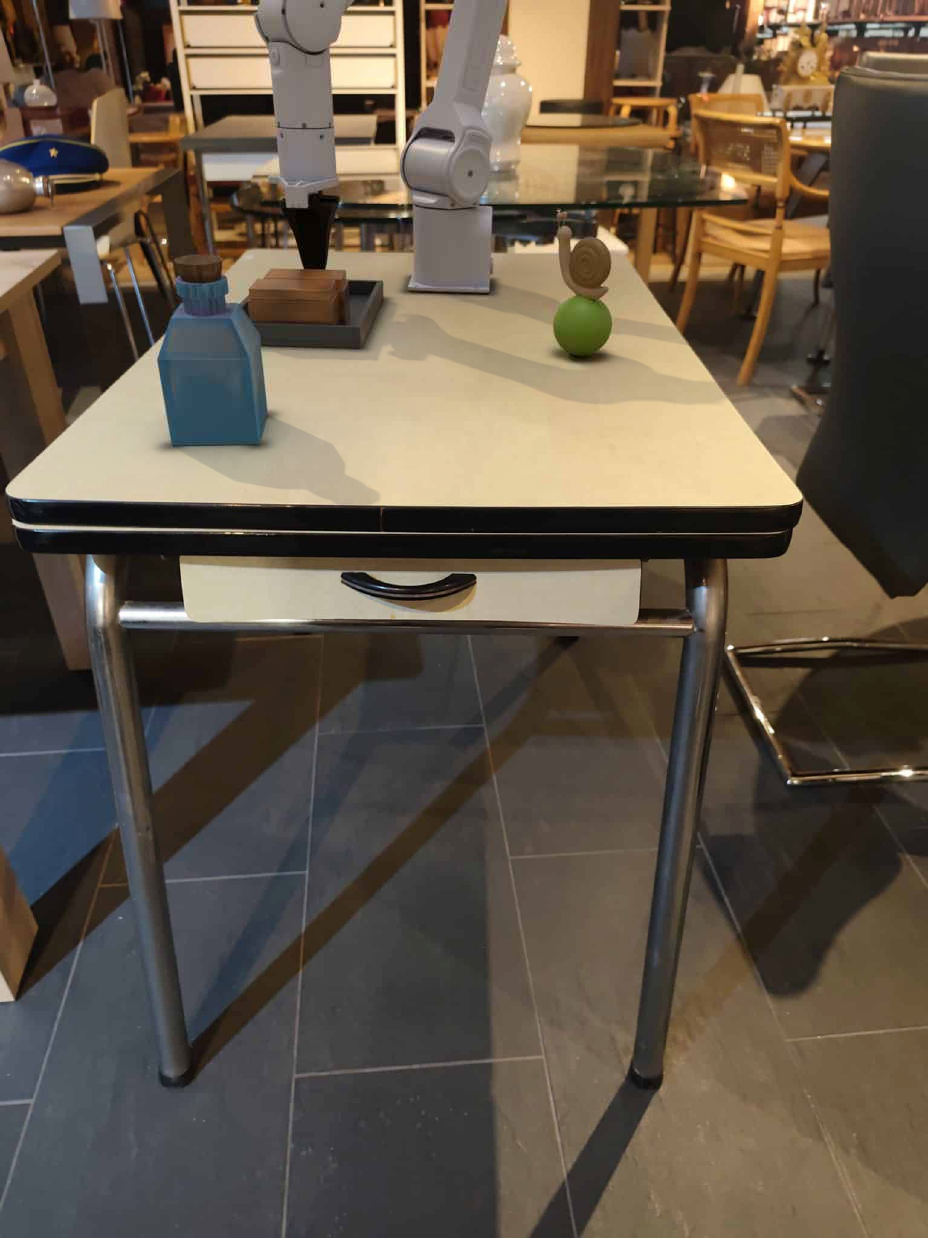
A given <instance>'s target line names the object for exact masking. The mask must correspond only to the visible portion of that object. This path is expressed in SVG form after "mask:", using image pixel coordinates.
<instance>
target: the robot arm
mask: <svg viewBox="0 0 928 1238" xmlns="http://www.w3.org/2000/svg"><path fill="white" fill-rule="evenodd" d="M354 2H355V0H259V4H257V11H256V12H254V13H253V21H254V24H255V27H256V30H257V32H258V35H259V36H260V38H261V39H262V41H263V42H264V43H265V45H266V47H267V51H268V59H269V66H270V76H271V89H272V99H273V111H274V122H275V124H274V125H275V134H276V144H277V155H278V167H279V173H271V174H269V175H268V176H267V178H268V184H270V185H271V184H273V185H279V186H280V187H281V188H282V189H283V190H284V197H282V198H281V199H280V200H279V207H280V210H281V212H282V214H283V215H284V217H285V220H286V221H287V222H288V223H287V224H288V225H289V226H290V229H291V231H292V235H293V237H294V240H295V243H296V247H297V251H298V254H299V258H300V262H301V265H302V269H322V270H327V265H328V259H329V250H330V249H329V248H330V242H331V241H330V240H331V233H332V228H333V227H332V226H333V222H334V219H335V216H336V213H337V209H338V207H339V205H340V202H341V197H340V196H339V195H335V194H323V191H324V190H327V189H332V188H335V187H338V186H339V185H340V177H339V175H338V173H337V157H336V156H337V155H336V141H335V140H336V137H335V123H334V104H333V103H334V101H333V85H332V67H331V48H330V47H331V45H332V44H334V43H336V42H337V41H338V39H339V36H340V34H341V28H342V18H343V15H344V14H345V12H346V11H347V10H348V9H349V8H350V7H351V5H352V4H353V3H354ZM508 2H509V0H454V1H453V4H452V10H451V13H450V18H449V23H448V28H447V33H446V36H445V37H446V38H445V42H444V45H443V51H442V54H441V55H442V56H441V61H440V65H439V70H438V74H437V79H436V82H435V83H436V84H435V88H434V93H433V97H432V101H431V102H430V103H429V104H428V105H427V106H426V107H425V109H424V110H423V111H422V112H421V113H420V114H419V115H418V116H417V118H416V119H415V121H414V125H413V129H412V133H411V136H410V137H409V139H408V140H407V141H406V143H405V145H404V147H403V148H402V150H401V154H400V157H399V158H400V159H399V173H400V178H401V180H402V182H403V185H404V186H405V187H406V188H407V190H408V191H410V194H409V195H410V197H409V198H410V201H411V202H412V235H413V236H412V237H413V241H412V242H413V243H412V245H413V248H412V249H413V250H412V251H413V272H412V274H411V277H410V279H409V282H408V285H407V290H408V291H413V292H414V291H416V292H417V291H418V292H449V293H450V292H452V293H478V294H479V293H482V294H483V293H484V294H487V293H489V292H490V286H491V275H492V276H493V275H494V261H495V260H494V259H495V258H493V257H492V233H493V232H492V231H493V226H492V225H493V207H492V205H491V206H490V205H480V199H481V198H482V197H483V196H484V195H485V193H486V191H487V190H488V187H489V183H490V180H491V175H492V174H491V173H492V172H491V171H492V170H491V169H492V168H491V167H492V166H491V159H490V157H491V148H492V143H493V139H494V137H493V135H492V133H491V131H490V129H489V127H488V125H487V124H486V122H485V120H484V119H483V117H482V112H483V108H484V105H485V102H486V101H485V100H486V97H487V96H486V95H487V92H488V87H489V84H490V79H491V74H492V72H493V71H492V70H493V68H494V67H493V66H494V62H495V58H496V53H497V50H498V45H499V42H500V36H501V33H502V28H503V24H504V20H505V17H506V11H507V8H508V7H507V6H508Z"/></svg>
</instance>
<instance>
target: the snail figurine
mask: <svg viewBox="0 0 928 1238" xmlns="http://www.w3.org/2000/svg"><path fill="white" fill-rule="evenodd" d="M567 217H568V212H567V211H562V212H557V214H556V218H557V219H558V224H557V225H558V229H557V231H556V239H557V241H558V260H559V261H558V262H559V268H560V272H561V275H562V280H563V282H564V283H565V285H566V286H567V288H569V290H571V291H572V292H573V293H574V295H573V296H571V297H568V298H567V299H566V300H564V302H562V303H561V305H560V306H559V307H558V309H557V310H556V311H555V314H554V317H553V323H552V330H553V331H552V332H553V335H554V338H555V340H556V342H557V344H558V345H559V346H560V347H561V348H562V350H564V351H565V352H566V353H568V354H571V355H574V356H578V357H584V356H589V355H592V354H594V353H596V352H598V351H600V350H601V349H602V348H604V346H605V345H606V343H607V342H608V340H609V338H610V336H611V334H612V327H613V319H612V314H611V312H610V309H609V307H608V306H607V305H606V303H605V302H604V301H602V300H601V298H602V297H604V296H605V295H606V294H607V293H608V292H609V290H610V287H608V286H602V284H604V283H605V282H606V281H607V280H608V278H609V276H610V274H611V270H612V256H611V252H610V250H609V248H608V246H607V245H606V244H605V242H604V241H602V240H601V239H600V238H598V237H594V236H587V237H584V238H581V239H580V240H578V241H577V242H576V243H575V244H574V246H573V247H572V246H571V240H572V236H573V232H572V230H571V228H570V227H569V226H567V225H565V219H566V218H567ZM562 219H563V220H562ZM561 220H562V226H560V221H561Z"/></svg>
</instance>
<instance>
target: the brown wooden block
mask: <svg viewBox="0 0 928 1238" xmlns="http://www.w3.org/2000/svg"><path fill="white" fill-rule="evenodd" d="M248 295H249V297H250V298H249V299H248V300H247V302H248V311H249V319H250V320H251V322H257V323H289V324H322V325H340V308H339V291H338V290H336V281H335V280H306V279H263V278H257V279H255V280H254V282H253V283H252V284H251V286H250V287H249V288H248Z"/></svg>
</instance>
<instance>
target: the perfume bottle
mask: <svg viewBox="0 0 928 1238" xmlns="http://www.w3.org/2000/svg"><path fill="white" fill-rule="evenodd" d="M223 262H224V258H223V257H222V256H219V255H215V254H188V255H183V256H179V257H176V258H175V259H174V263H175V266H176V270H177V272H178V276H177V277H175V279H174V281H175V288H176V295H177V296H179V297H180V298H182V302H181V303H180V304H179V306H177V308H176V310H175V311H174V312H173V314H172V315H171V317H170V318H169V319H170V320H169V322H168V326H167V328H166V331H165V334H164V337H163V340H162V343H161V346H160V350H159V352H158V354H157V359H156V362H157V368H158V374H159V379H160V384H161V385H160V386H161V390H162V397H163V402H164V403H163V404H164V409H165V414H166V420H167V426H168V432H169V438H170V443H171V446H174V447H175V446H243V445H244V446H245V445H246V446H248V445H249V446H250V445H251V446H253V445H257V446H259V445H260V444H261V440H262V438H263V437H262V436H263V433H264V430H265V425H266V423H267V419H268V415H269V411H268V401H267V393H266V392H267V391H266V382H265V373H264V362H263V353H262V345H261V343H260V334H259V332H258V331H257V329H256V328H255V326H254V325H253V323H252V322H251V320H250V319H249V317H248V316H247V315H246V313H245V312H244V310H243V309H242V307H241V306H240V302H227V301H226V295H228V294H229V292H230V291H229V283H228V276H226V275H225V274H223V273H222V272H223Z"/></svg>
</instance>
